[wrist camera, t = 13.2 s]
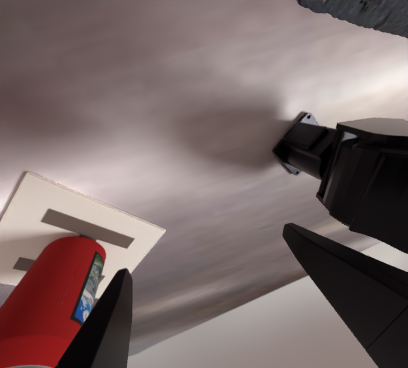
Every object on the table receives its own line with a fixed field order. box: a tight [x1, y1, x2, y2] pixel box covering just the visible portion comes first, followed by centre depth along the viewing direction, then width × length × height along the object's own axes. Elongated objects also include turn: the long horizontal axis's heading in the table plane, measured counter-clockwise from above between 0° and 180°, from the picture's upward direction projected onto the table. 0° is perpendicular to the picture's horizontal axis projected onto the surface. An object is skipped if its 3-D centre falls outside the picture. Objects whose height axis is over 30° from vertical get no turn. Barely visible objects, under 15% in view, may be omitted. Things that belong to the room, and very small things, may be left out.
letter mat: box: [0, 172, 166, 298], centre depth 22 cm, size 16×16×1 cm
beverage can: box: [0, 236, 106, 368], centre depth 16 cm, size 7×7×12 cm
